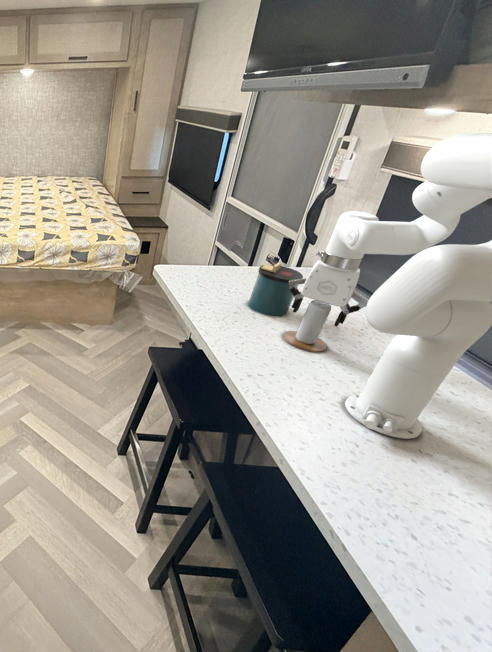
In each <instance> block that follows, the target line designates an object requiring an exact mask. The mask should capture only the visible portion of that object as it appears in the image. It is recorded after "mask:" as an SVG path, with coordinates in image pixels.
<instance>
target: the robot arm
mask: <svg viewBox="0 0 492 652" xmlns="http://www.w3.org/2000/svg"><path fill="white" fill-rule="evenodd" d="M420 175H421V176H422V178H423V179H424V180H425V181H424V182H422V183H421V184H419V185H418V186H417V187H416V188H415V189H414V190H413V192H412V197H411V201H412V203H413V206H414V207H415V208H416V210H417V211H418V212H419V213H420V214H422V215H421V216H419V217H418V218H416V219H414V220H412V221H388V220H386V221H385V220H383V221H382V220H381V221H380V219H379V217H378V216H377V215H375V214H372V213H368V212H363V211H355V210H354V211H351V210H350V211H346V212H343V213H341V214H340V216H339V217H338V219H337V222H336V223H335V227H334V229H333V232H332V234H331V236H330V239H329V241H328V243H327V246H326V248H325V250H321V251H320V250H317V252H316V254H315V256H317V257H319V258H320V259H319V260H317V261H316V262H315V263H314V264H313V267H312V268H311V269H310V271H309V273H308V275H307V277H305V278H304V277H303V278H302V279H295V280H291V281H289V286H290V291H291V293H292V294H293V296H294V297H293V299H294V300H293V301H292V302H293V303H292V305H291V308H292V309H293V310H292V313H293V314H294V313H295V314H296V313H297V312H298V311H299V310H300V308H301V304H302V302H303V300H304V297H305V298H307V299H310V300H317V301H321V302H324V303H327V304H330V305H331V306H335V307H339V308H340V312H339V314H338V316H337V318H336V320H335V322H334V324H333V325H334V327H338V326H339V325H340V324H341V325H343V324H344V322H345V320H346V318H347V316H348V315H349V314H352V313H356V312H358V311H360V310H361V309H363V308H365V318H366V321H367V322H368V324H369V326H371V327H372V328H373V329H375V330H376V331H378V332H380V333H384V334H388V335H394V337H393V338H392V340H391V341H390V342H389V343H388V345H386V346H387V347H386V348H385V350H384V352H383V353H382V355H381V356H380V358H379V360H378V362H377V364H376V365H375V367H374V369H373V371H372V373H371V374H370V376H369V378H368V379H367V382H366V383H365V384H364V387H363V388H362V389H361V392H360V393H358V394H357V393H356V394H352V395H349V396H348V397H347V398H346V400H345V401H344V407H345V409H346V411H347V412H348V413H349V415H351V416H352V418H354V419H355V420H356V421H358V422H359V423H361V424H362V425H363V426H365V428H367V429H369V430H372V431H375V432H378V433H380V434H383V435H385V436H388V437H393V438H396V439H405V440H406V439H408V440H410V439H415V438H418V437H419V436H420V435H421V433H422V431H423V425H422V423H421V422H420V420H419V419H418V418H419V417H420V415H421V414H422V412H423V411H424V410H425V408H426V407H427V405H428V404H429V402H430V401H431V399H432V398H433V396H434V395H435V393H436V392H437V391H438V389H439V388H440V386H441V385H442V384H443V382H444V381H445V379H446V377H447V376H448V375H449V374H450V372H451V371H452V369H453V368H454V366H455V365H456V364H457V362H458V361H459V360H460V358H461V357H462V356H463V355H464V354H465V352H467V350H468V349H470V347H472V346H473V345H474V344H475V343H476V342H477V341H478V340H479V339H481V338H482V337H483V336H484V335H485V334H486V333H487V332H488V331H489V329H490V328H491V327H492V239H491V240H489V241H487V242H483V243H478V244H462V243H461V244H460V243H459V244H457V243H456V244H455V243H453V244H452V243H447V244H439V243H441V242H443V241H444V240H446V239H448V238H449V237H450V236H451V235H452V234H453V232H454V231H455V230H456V228H457V227H458V225H459V223H460V220H461V215H462V214H465V213H466V212H468V211H470V210H471V209H473V208H475V207H476V206H478V205H480V204H482V203H484V202H485V201H488V200H490V199H492V133H491V132H490V133H489V132H487V133H485V132H484V133H483V132H482V133H481V132H476V133H475V132H473V133H472V132H465V133H458V134H455V135H451V136H448V137H446V138H444V139H442V140H441V141H439V142H438V143H435V145H433V146H432V147H431V148H430V149H429V150H428V151H427V152H426V154H425V155H424V157H423V158H422V161H421V164H420ZM437 244H439V245H437ZM364 255H392V256H408V255H409V256H410V255H413V256H412V257H410V258H409V259H408V260H407V261H406V262H404V264H403V265H402V266H400V268H398V269H397V270H396V271H395V272H394V273H393V274H392V275H390V276H389V278H387V280H385V281H384V282H383V283H382V284H381V285H380V286H379V287H378V288H377V289H376V290H375V291H374V292H373V294H372V295H370V298H369V299H368V300H367V299H366V298H364V297H363V296H362V294H359V293H358V291H356V288H357V284H358V281H359V278H360V273H361V269H360V268H359V267H360V264H361V262H362V260H363V258H364ZM297 284H299V285H302V287H301V291H300V290H299V289H298V287H296V285H297ZM351 299H354V300H355V301H356V302H357V304H355V305H350V303H349V302H350V300H351Z"/></svg>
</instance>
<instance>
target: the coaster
mask: <svg viewBox="0 0 492 652" xmlns="http://www.w3.org/2000/svg"><path fill="white" fill-rule="evenodd" d="M297 331H298V330H297ZM297 331H295V330H290V331H286V332H285V333H284V334H283V339H284V341H285V342H287V343H288V344H289V345H291V346H292V347H295V348H297V349H299V350H302V351H305V352H311V353H321V352H325V351H326V349H327V344H326V343H325V342H324V341H323V340H322V339H320V338H319V337H318V339H317V341H316V343H314V344H304V343H302V342H300V341H298V340H297V339H296V334H297Z"/></svg>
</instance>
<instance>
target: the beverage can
mask: <svg viewBox="0 0 492 652" xmlns="http://www.w3.org/2000/svg"><path fill="white" fill-rule="evenodd" d="M331 310H332V305H331V304H327V303H324V302H321V301H317V300H314V299H312V300H311V301H310V302H309V304H308V306H307V308H306V311H305V313H304V316H303V318H302V319H301V320H302V321H301V322H300V324H299V326H298V329H297V334H296V339H297V340H298V341H300V342H302V343H304V344H314V343H316V341H317V339H318V338H319V336H320V335H321V332H322V330H323V328H324V326H325V324H326V321H327V319H328V317H329V315H330V313H331Z"/></svg>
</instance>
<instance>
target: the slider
mask: <svg viewBox="0 0 492 652" xmlns="http://www.w3.org/2000/svg"><path fill="white" fill-rule="evenodd" d="M272 265H274V266H272ZM262 266H263V265H262ZM280 266H282V262H277V263H275V264H267V263H266V264H264V266H263V267H261V266H260V267H261V269H263V270H267V271H270V272H274V273H275V272H276V271H278V270H279V269H280Z"/></svg>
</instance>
